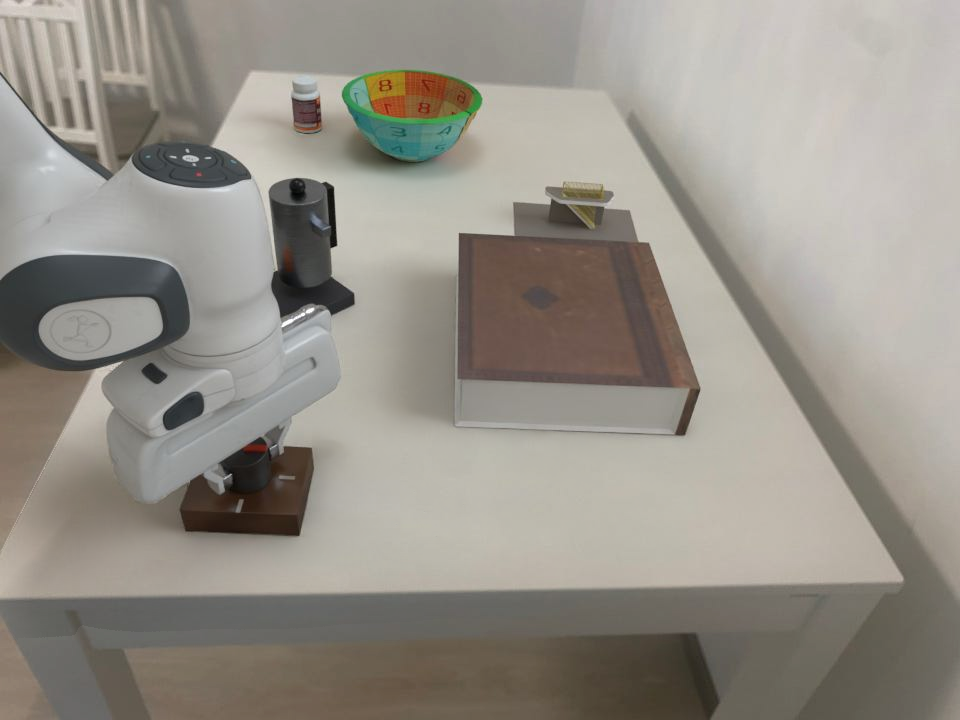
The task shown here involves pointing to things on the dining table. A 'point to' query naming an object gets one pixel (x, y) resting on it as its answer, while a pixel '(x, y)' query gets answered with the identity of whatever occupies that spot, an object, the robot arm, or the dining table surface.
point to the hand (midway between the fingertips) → (247, 470)
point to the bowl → (411, 111)
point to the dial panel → (254, 500)
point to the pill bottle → (306, 105)
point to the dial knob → (249, 467)
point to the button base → (311, 296)
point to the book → (567, 338)
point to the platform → (575, 216)
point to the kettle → (303, 230)
